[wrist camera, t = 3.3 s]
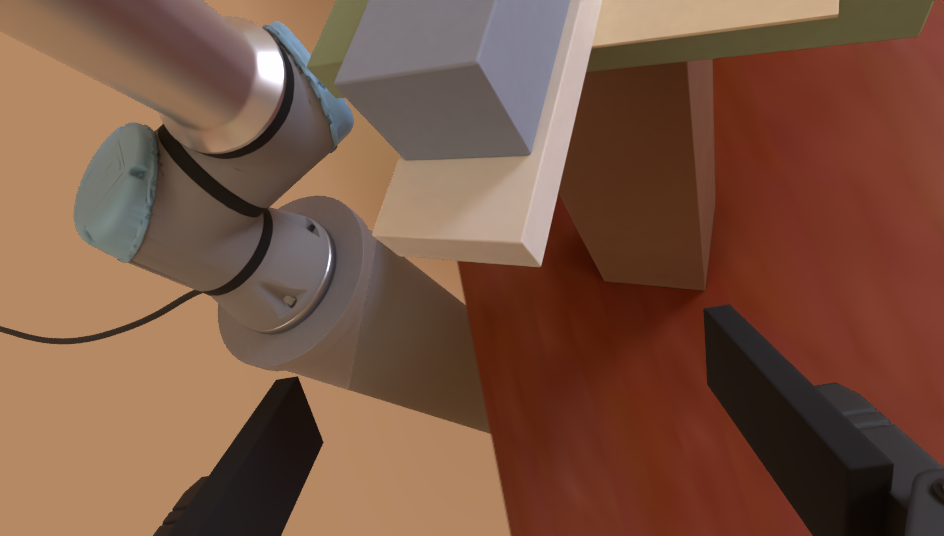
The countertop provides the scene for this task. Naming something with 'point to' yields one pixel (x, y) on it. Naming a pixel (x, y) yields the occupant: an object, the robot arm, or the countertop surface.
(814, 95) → the countertop surface
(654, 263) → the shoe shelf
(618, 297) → the countertop surface
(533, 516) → the countertop surface
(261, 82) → the robot arm
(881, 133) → the countertop surface
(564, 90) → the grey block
